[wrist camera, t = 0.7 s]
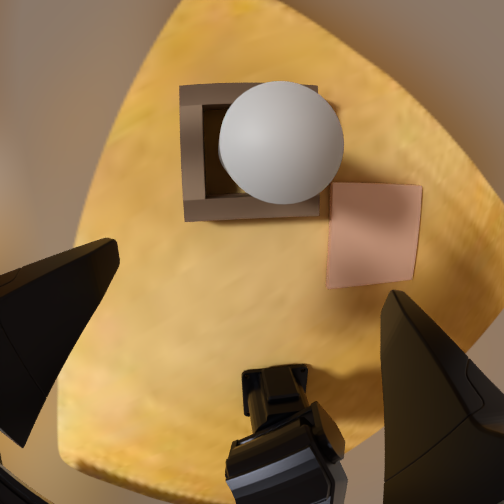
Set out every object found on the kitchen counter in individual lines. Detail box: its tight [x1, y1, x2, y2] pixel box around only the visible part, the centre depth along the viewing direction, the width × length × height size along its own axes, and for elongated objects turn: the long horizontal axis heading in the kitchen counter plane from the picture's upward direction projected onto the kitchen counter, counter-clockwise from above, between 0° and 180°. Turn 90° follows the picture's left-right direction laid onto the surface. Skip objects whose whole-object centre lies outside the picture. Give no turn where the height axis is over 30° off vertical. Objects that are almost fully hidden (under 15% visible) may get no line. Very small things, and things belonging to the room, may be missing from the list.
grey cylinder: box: [218, 81, 344, 204], centre depth 16 cm, size 4×4×13 cm
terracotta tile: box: [326, 182, 422, 289], centre depth 25 cm, size 9×9×1 cm
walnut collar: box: [179, 83, 320, 222], centre depth 21 cm, size 10×10×2 cm
